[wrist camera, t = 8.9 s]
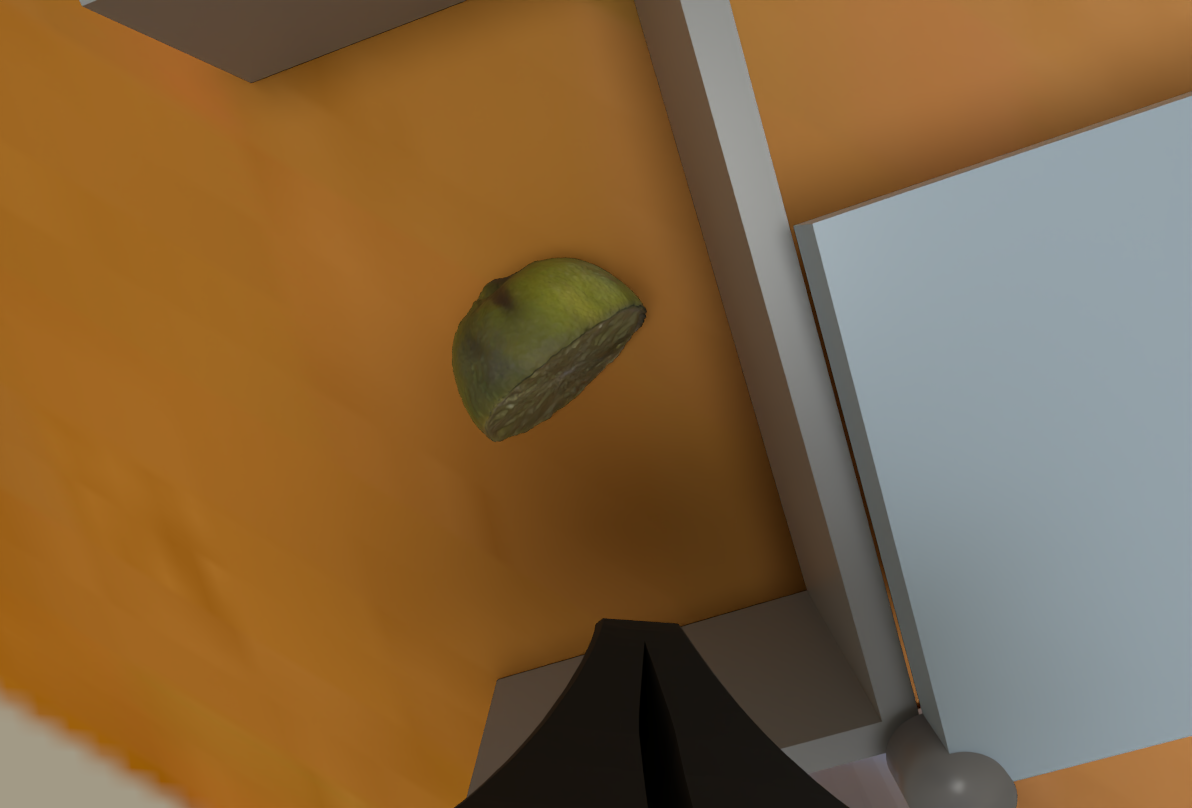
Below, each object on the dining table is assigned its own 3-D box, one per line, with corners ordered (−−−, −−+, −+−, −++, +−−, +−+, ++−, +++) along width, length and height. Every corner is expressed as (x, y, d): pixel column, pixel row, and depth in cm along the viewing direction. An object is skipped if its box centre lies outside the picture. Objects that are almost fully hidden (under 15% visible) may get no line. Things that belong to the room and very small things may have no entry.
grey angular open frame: (839, 606, 21) (926, 742, 15) (505, 701, 22) (468, 863, 16) (637, -105, 17) (652, -287, 11) (238, 50, 18) (60, -42, 12)
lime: (651, 273, 19) (666, 283, 14) (611, 439, 20) (612, 502, 15) (492, 236, 19) (451, 233, 14) (460, 405, 20) (411, 457, 15)
